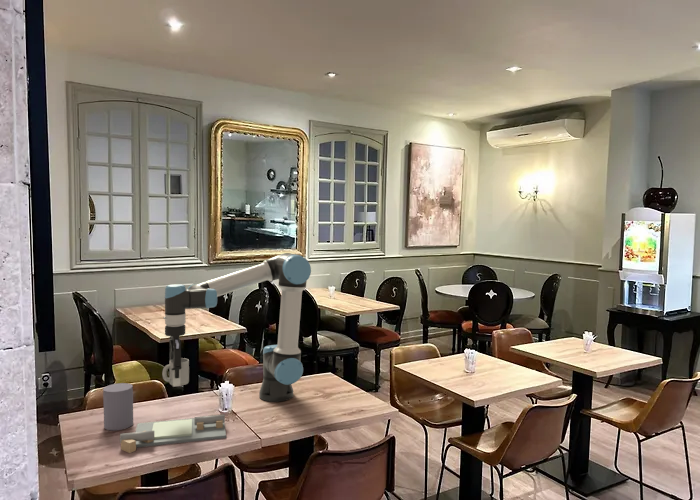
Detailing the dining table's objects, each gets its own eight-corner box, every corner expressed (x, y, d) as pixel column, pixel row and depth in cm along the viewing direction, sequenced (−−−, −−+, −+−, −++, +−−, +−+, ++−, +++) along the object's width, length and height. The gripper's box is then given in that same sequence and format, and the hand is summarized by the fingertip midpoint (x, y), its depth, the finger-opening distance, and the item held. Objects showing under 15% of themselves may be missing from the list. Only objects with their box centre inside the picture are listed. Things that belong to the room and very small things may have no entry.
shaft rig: (223, 417, 214) (223, 405, 213) (226, 442, 190) (226, 429, 190) (127, 426, 204) (127, 413, 204) (118, 454, 181) (118, 439, 180)
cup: (191, 384, 207) (191, 361, 207) (164, 388, 202) (164, 365, 201) (186, 379, 213) (185, 357, 213) (160, 383, 208) (160, 360, 207)
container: (103, 432, 198) (102, 393, 197) (104, 422, 208) (103, 385, 207) (133, 428, 202) (133, 389, 201) (133, 419, 212) (132, 381, 211)
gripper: (162, 320, 214) (162, 376, 215) (168, 330, 196) (168, 392, 197) (181, 319, 217) (181, 374, 218) (189, 329, 199) (189, 389, 200)
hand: (175, 382), depth 208 cm, fingers closed on cup, 7 cm apart
